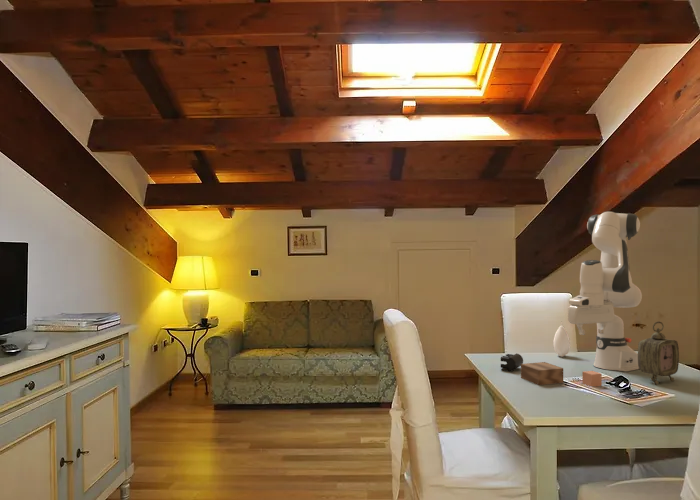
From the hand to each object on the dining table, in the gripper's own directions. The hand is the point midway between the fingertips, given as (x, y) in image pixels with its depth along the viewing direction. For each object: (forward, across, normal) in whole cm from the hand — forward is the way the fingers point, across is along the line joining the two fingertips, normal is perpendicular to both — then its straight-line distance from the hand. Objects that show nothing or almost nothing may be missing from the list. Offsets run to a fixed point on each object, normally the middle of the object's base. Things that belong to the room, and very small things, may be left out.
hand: (591, 334), depth 208 cm
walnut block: (+21, +15, -12) cm, 28 cm away
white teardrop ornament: (+21, -24, -48) cm, 58 cm away
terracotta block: (+21, 0, 0) cm, 21 cm away
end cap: (+21, +16, -32) cm, 41 cm away
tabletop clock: (+21, -29, +4) cm, 36 cm away
